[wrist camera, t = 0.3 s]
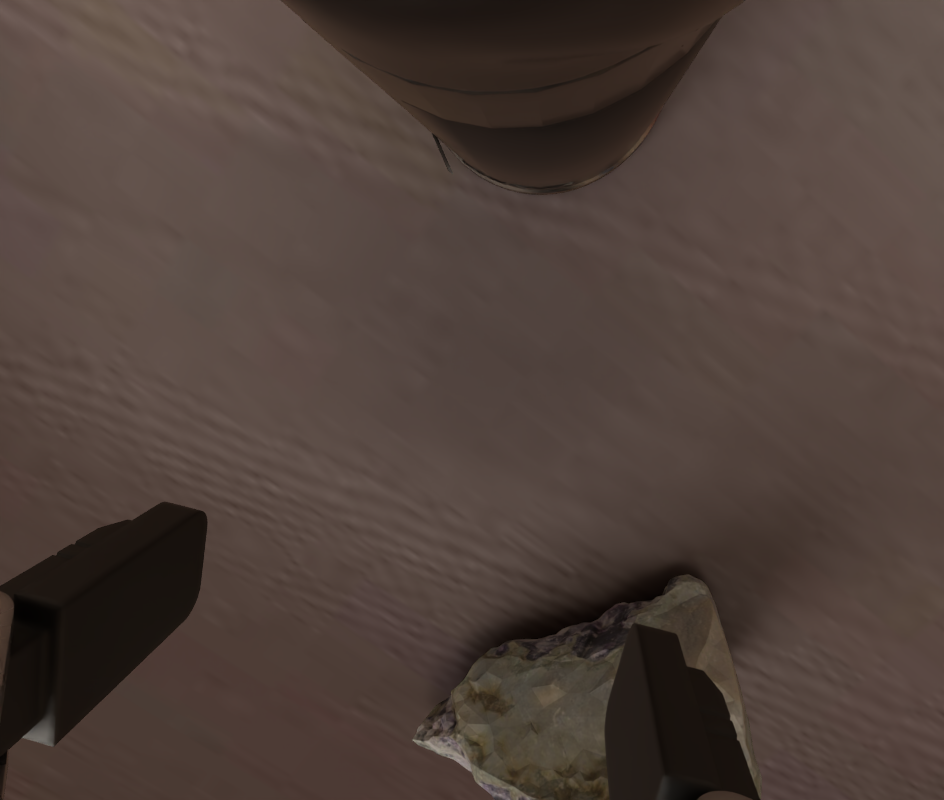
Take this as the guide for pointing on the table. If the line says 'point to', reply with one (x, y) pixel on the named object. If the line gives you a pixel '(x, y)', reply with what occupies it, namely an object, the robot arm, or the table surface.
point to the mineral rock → (571, 699)
